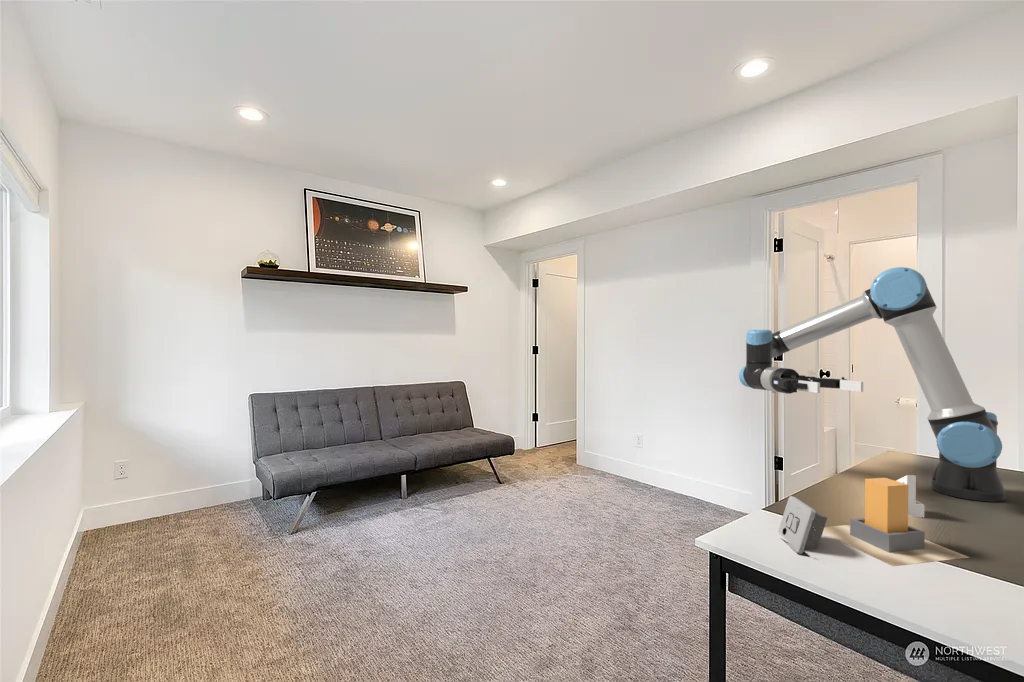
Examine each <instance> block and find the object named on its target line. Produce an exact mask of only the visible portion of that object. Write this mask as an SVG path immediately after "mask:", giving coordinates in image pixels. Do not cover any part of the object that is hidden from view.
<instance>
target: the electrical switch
mask: <svg viewBox="0 0 1024 682" xmlns="http://www.w3.org/2000/svg"><path fill="white" fill-rule="evenodd" d="M827 520H828V517H827V516H826V515H824V514H822V513H821V512H819V511H818V510H816V509H815V508H813V507H812V506H810V505H809V504H806V503H805V502H803V501H802V500H800V499H799V498H797V497H795V496H793V495H789V497H788V498H787V502H786V505H785V509H784V511H783V514H782V517H781V521H780V524H779V527H778V530H777V532H778V534H779V535H781V537H782V538H781V541H783V542H784V543H785V544H786V545H787V546H789V547H790V548H791V549H792V550H793V551H794V552H795V553H796V554H799V555H803V553H804V552H805V550H818V548H819V545H820V542H821V539H822V536H823V534H824V533H823V530H824V527H826V523H827Z"/></svg>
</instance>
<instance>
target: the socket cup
mask: <svg viewBox="0 0 1024 682" xmlns="http://www.w3.org/2000/svg"><path fill="white" fill-rule="evenodd" d="M849 525H850V535H851V536H854V537H856V538H858V539H860V540H862V541H865V542H867V543H869V544H871V545H873V546H876V547H878V548H880V549H882V550H884V551H887V552H889V553H890V552H899V551H909V550H918V549H924V541H925V540H926V539H925V538H926V537H925V533H926V532H925V531H923V530H922V529H917V528H915V527H913V526H910V525H908V532H898V533H886V532H884V531H882V530H879V529H877V528H874V527H872V526H870V525H867V524H865V517H860V518H859V517H858V518H850V520H849Z"/></svg>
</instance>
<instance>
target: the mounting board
mask: <svg viewBox="0 0 1024 682" xmlns="http://www.w3.org/2000/svg"><path fill="white" fill-rule="evenodd" d="M822 534H824V535H826V536H829V537H830V538H833V539H834V540H837V541H839V542H841V543H843V544H845V545H848V546H850V547H852V548H854V549H856V550H858V551H860V552H862V553H863V554H866V555H869V556H870V557H872V558H874V559H876V560H879V561H881V562H882V563H885V564H887V565H889V566H891V567H897V566H906V565H916V564H923V563H924V564H925V563H933V562H934V563H935V562H942V561H949V560H950V561H951V560H952V561H953V560H959V559H968V558H970V556H967V555H965V554H963V553H960V552H958V551H955V550H953V549H949V548H948V547H944V546H943V545H940V544H937V543H934V542H932V541H930V540H927V539H925V541H924V549H918V550H909V551H899V552H890V553H889V552H887V551H884V550H882V549H880V548H878V547H876V546H873V545H871V544H869V543H867V542H865V541H862V540H860V539H858V538H856V537H854V536H851V535H850V524H845V525H844V524H843V525H834V526H825V527H824V530H823V533H822Z"/></svg>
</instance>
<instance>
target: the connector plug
mask: <svg viewBox="0 0 1024 682" xmlns="http://www.w3.org/2000/svg"><path fill="white" fill-rule="evenodd" d="M864 484H865V485H864V487H865V488H864V518H865V524H867V525H870V526H872V527H874V528H877V529H879V530H882V531H884V532H886V533H898V532H908V526H909V515H908V484H904V483H901V482H898V481H896V480H894V479H890V478H887V477H876V478H875V477H874V478H865V479H864Z"/></svg>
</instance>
